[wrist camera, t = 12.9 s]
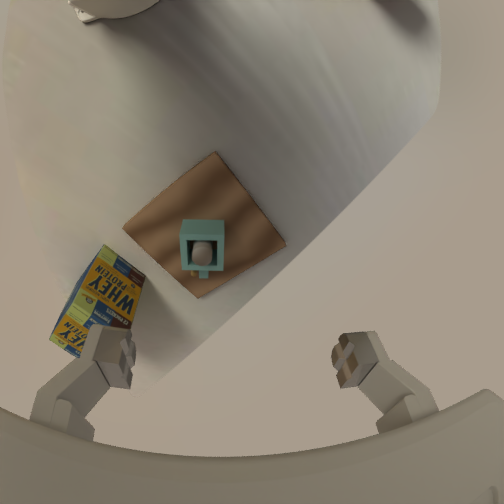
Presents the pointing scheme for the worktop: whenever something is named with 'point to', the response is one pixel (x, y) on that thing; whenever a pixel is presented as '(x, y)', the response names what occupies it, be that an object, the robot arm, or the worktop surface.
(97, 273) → the protein box
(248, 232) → the post board
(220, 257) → the teal open cubby box
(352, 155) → the worktop surface
